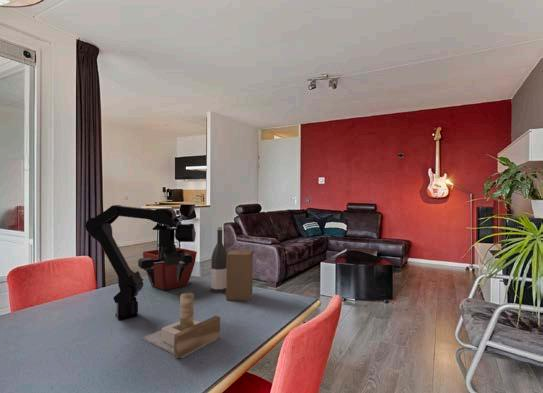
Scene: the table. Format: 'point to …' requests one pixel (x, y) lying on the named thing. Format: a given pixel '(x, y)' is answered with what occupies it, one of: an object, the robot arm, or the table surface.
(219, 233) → the wine bottle
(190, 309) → the dowel
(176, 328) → the socket block
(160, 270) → the plant pot
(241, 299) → the wooden block
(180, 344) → the rail base
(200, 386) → the table surface
